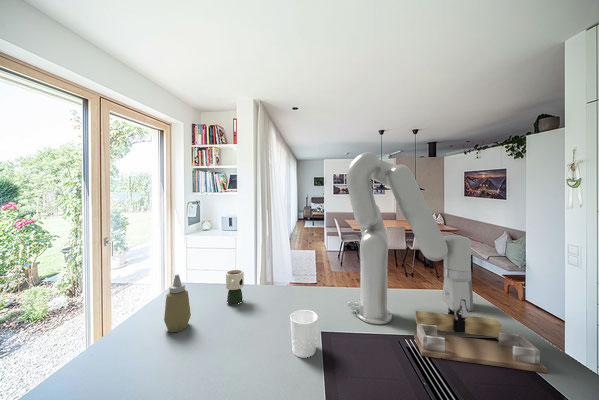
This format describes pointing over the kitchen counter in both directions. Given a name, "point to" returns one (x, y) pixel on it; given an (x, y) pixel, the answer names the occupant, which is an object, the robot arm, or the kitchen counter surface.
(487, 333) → the slat
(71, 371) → the kitchen counter surface
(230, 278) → the character mug
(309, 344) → the white cup
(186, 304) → the squeeze bottle
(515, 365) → the end cap frame
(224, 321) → the kitchen counter surface
